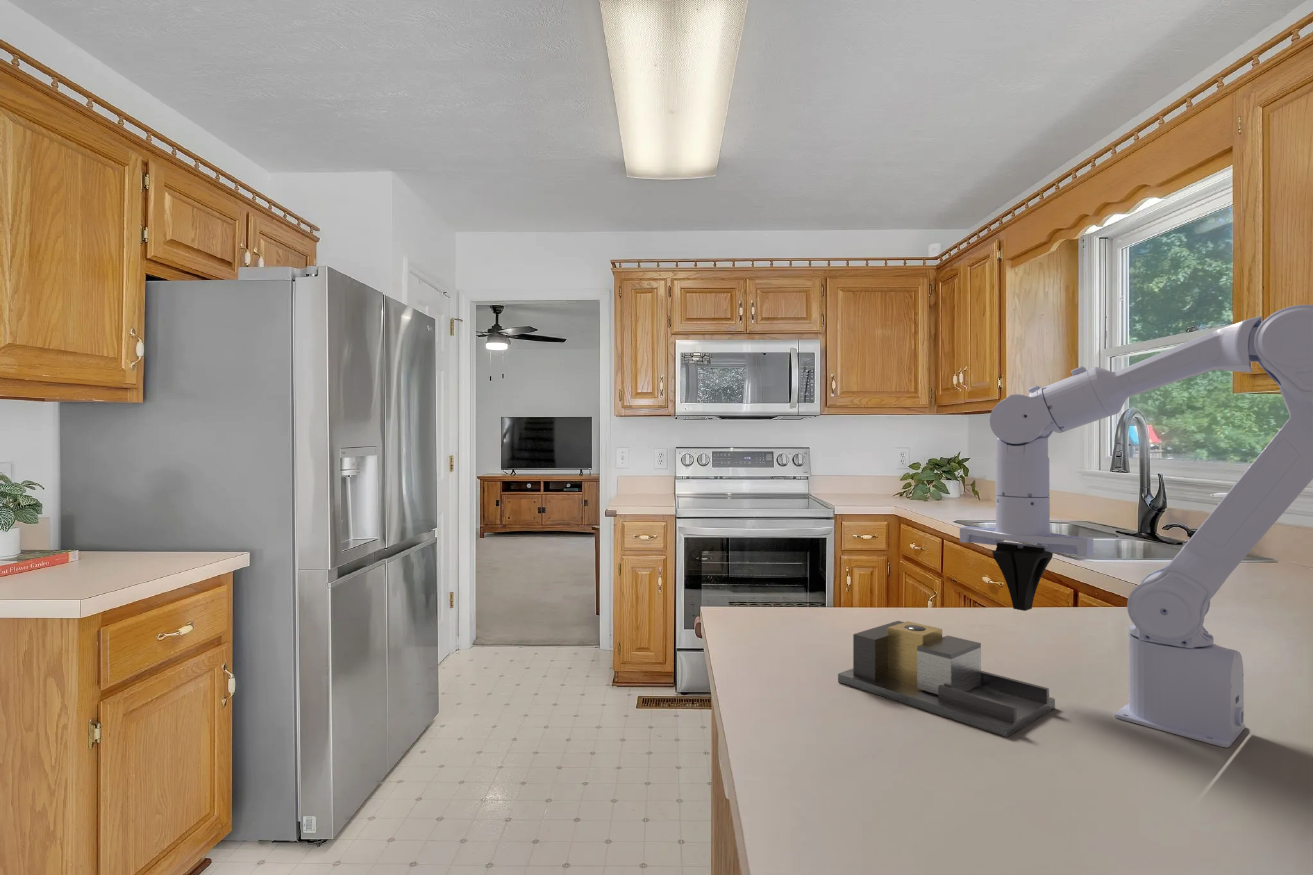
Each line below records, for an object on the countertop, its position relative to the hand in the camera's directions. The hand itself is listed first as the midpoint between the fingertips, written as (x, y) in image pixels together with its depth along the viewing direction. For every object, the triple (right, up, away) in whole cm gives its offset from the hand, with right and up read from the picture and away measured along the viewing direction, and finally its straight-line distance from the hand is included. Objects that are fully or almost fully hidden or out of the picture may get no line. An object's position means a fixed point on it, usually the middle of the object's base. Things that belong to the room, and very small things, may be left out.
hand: (1022, 608), depth 81 cm
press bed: (-11, -9, -3) cm, 15 cm away
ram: (-10, -8, -3) cm, 14 cm away
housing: (-13, -8, 0) cm, 15 cm away
